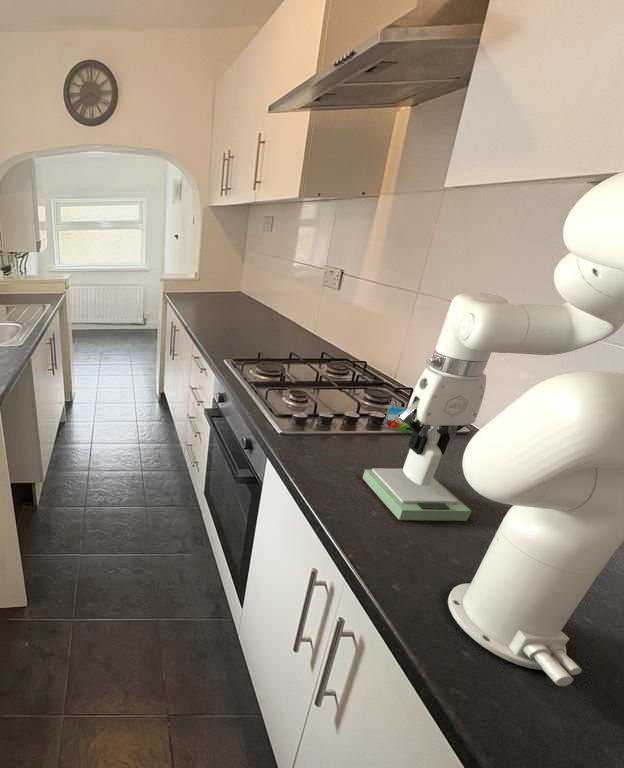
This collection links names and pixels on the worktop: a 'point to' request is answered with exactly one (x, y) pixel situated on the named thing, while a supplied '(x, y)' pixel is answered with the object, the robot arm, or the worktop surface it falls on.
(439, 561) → the worktop surface
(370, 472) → the scale
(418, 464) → the eye dropper bottle
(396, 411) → the yogurt
